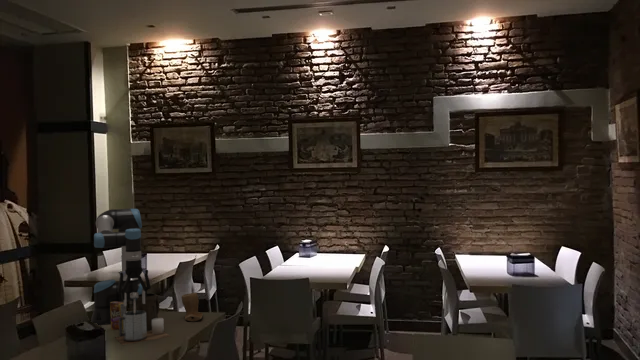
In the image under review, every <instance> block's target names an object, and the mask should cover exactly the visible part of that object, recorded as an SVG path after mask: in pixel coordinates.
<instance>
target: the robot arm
mask: <svg viewBox="0 0 640 360" xmlns="http://www.w3.org/2000/svg"><path fill="white" fill-rule="evenodd" d="M142 223H143V222H142V216H141V213H140V209H138V208H118V209H114V208H112V209H108V210H105V211H104V212H101V213H100V214H99V215H98V216H97V217H96V219H95V227H96V229H97V232H95V233H94V235H93V246H94V248H96V249H97V248H101V249H104V248H115V247H121V271H120V272H119V274H118V275H119V279H118V281H116V280H115V279H106V280H101V281H98V282H96V283H95V284H94V285H93V294H94V295H93V297H94V298H93V299H94V301H93V303H94V305H93V307H94V309H93V313H92V316H91V320H90V321H91V322H94V323H97V324H99V325H100V326H101V325H109V324H110V325H111V312H110V302H114V301H118V302H123V303H124V306H126V307H127V305H128V304H127V302H133V299H131V298H130V293H132V292H138V293H139V295H140V294H142V303H143V304H145V297H147V294H148V290H151V288H152V287H151V283H150V279H149V270H148V269H143V267H142V261H143V260H142V230H141V229H142V228H143V224H142ZM114 230H118V231H115V232H114ZM142 273H143V275H144V280H145V282H144V280H143V278H142V277H141V276H142ZM136 301H137V298H136ZM97 324H96V325H97ZM99 325H98V326H99Z"/></svg>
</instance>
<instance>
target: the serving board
mask: <svg viewBox="0 0 640 360" xmlns="http://www.w3.org/2000/svg"><path fill="white" fill-rule="evenodd" d="M171 337H172V336H171V335H170V334H168V333H167V332H165V331H164V333H162V334H152V330H150V331H147V338H146V339H145V340H142V341H137V342H126V341H124V336H119V335H118V336H115V337H114V338H115V340H116V341H118V343H120V345H122V346H124V345H130V344H136V343H141V342H142V343H143V342H147V341H154V340H159V339H165V338H171Z"/></svg>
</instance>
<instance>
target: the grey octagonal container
mask: <svg viewBox="0 0 640 360" xmlns="http://www.w3.org/2000/svg"><path fill="white" fill-rule="evenodd" d="M122 320H123V327H124V329H122ZM118 330H119V335H118V337H119V336H124V341H126V342H137V341H142V340H145V339H146V338H147V332H148V331H147V327H146V312H145V311H141V310H137V309H136V315H134V310H130V311H127V312H126V313H123V317H122V318H119V329H118ZM137 343H138V342H137Z"/></svg>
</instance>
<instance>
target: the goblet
mask: <svg viewBox="0 0 640 360" xmlns="http://www.w3.org/2000/svg"><path fill="white" fill-rule="evenodd" d="M130 298H131V299H133V301H132V302H133V311H134V315H136V310H137V300H136V298H139V293H138V292H132V293H130Z"/></svg>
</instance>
